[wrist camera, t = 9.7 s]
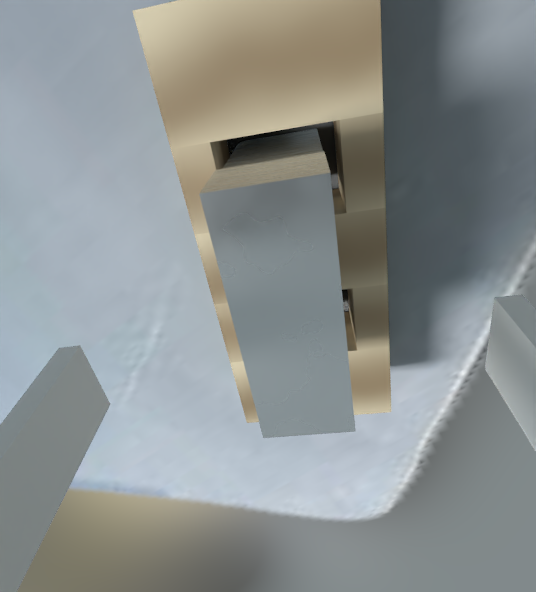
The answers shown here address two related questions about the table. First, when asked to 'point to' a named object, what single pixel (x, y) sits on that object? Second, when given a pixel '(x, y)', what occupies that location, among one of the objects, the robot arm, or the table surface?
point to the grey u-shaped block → (284, 281)
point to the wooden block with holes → (278, 116)
